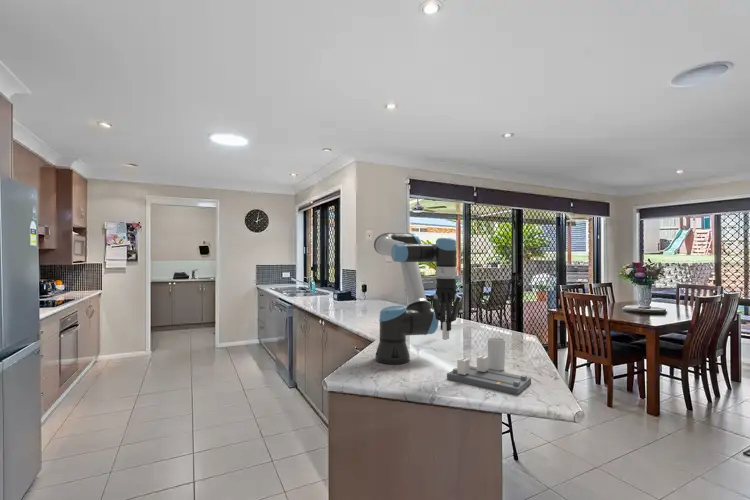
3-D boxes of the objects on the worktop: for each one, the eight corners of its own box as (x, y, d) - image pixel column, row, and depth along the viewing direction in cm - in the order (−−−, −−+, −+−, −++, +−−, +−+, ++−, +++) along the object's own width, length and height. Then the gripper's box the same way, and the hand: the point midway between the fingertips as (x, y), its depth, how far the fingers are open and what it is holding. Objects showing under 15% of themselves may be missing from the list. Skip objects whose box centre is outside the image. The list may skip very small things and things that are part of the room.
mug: (505, 371, 150) (505, 341, 150) (487, 370, 152) (487, 340, 152) (504, 365, 160) (504, 336, 160) (488, 363, 162) (488, 335, 162)
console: (446, 378, 140) (446, 370, 141) (464, 369, 152) (464, 361, 152) (517, 394, 124) (517, 385, 125) (531, 383, 136) (531, 374, 136)
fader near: (457, 373, 140) (457, 359, 140) (462, 370, 143) (462, 357, 143) (464, 374, 138) (464, 360, 138) (469, 372, 141) (469, 358, 141)
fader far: (476, 370, 143) (476, 357, 143) (480, 368, 146) (480, 354, 147) (484, 372, 141) (484, 358, 142) (488, 369, 145) (488, 356, 145)
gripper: (426, 277, 147) (426, 338, 146) (457, 278, 139) (457, 343, 138) (435, 276, 153) (435, 335, 152) (465, 278, 145) (465, 339, 144)
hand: (445, 338), depth 145 cm, fingers closed
